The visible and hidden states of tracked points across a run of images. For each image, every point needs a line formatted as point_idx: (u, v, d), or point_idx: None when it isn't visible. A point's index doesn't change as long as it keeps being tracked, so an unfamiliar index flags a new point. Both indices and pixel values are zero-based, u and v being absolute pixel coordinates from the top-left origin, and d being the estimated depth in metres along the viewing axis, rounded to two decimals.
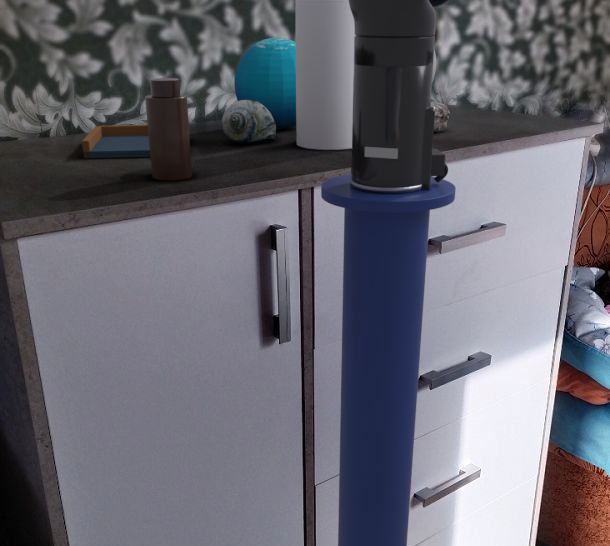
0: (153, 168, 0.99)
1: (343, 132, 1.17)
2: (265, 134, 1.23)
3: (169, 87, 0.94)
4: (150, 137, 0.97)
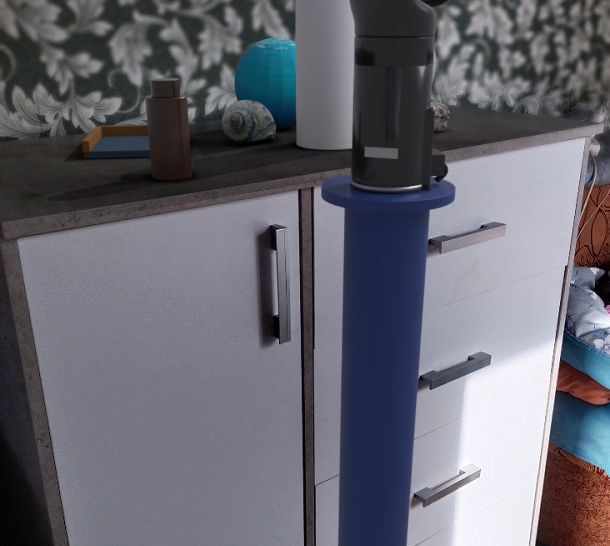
0: (153, 168, 0.99)
1: (343, 132, 1.17)
2: (265, 134, 1.23)
3: (169, 87, 0.94)
4: (150, 137, 0.97)
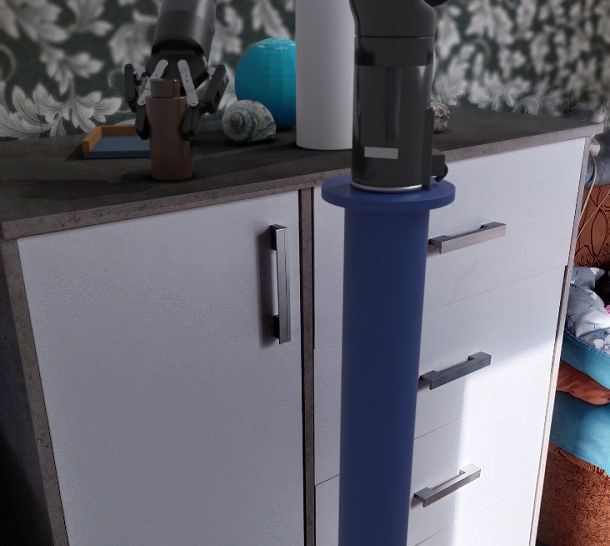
0: (153, 168, 0.99)
1: (343, 132, 1.17)
2: (265, 134, 1.23)
3: (169, 87, 0.94)
4: (150, 137, 0.97)
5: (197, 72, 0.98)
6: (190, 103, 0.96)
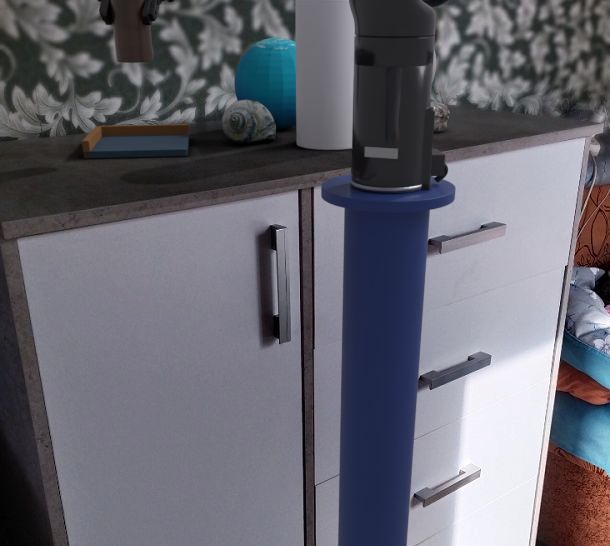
0: (117, 51, 1.08)
1: (343, 132, 1.17)
2: (265, 134, 1.23)
3: None
4: (113, 21, 1.06)
5: None
6: None
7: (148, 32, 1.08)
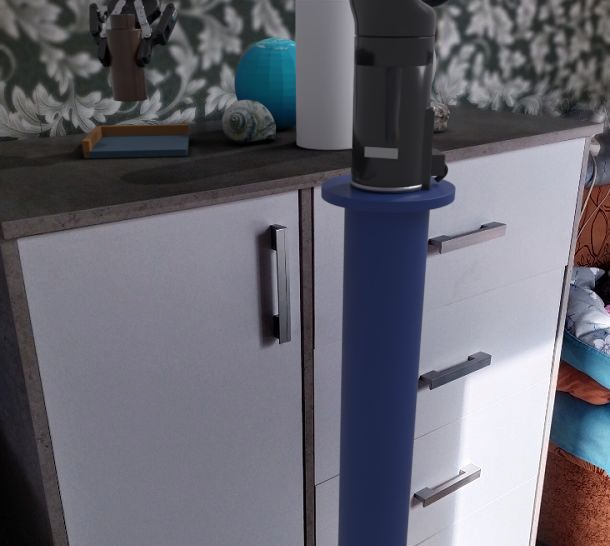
0: (114, 91, 1.17)
1: (343, 132, 1.17)
2: (265, 134, 1.23)
3: (126, 20, 1.12)
4: (110, 64, 1.15)
5: (150, 10, 1.16)
6: (144, 35, 1.15)
7: (142, 73, 1.17)
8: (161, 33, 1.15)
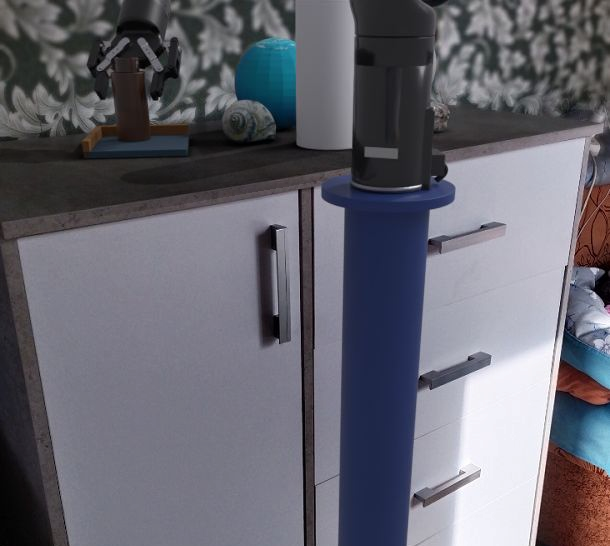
0: (118, 131, 1.20)
1: (343, 132, 1.17)
2: (265, 134, 1.23)
3: (130, 64, 1.15)
4: (115, 105, 1.18)
5: (153, 48, 1.19)
6: (156, 69, 1.17)
7: (146, 114, 1.19)
8: (174, 66, 1.17)
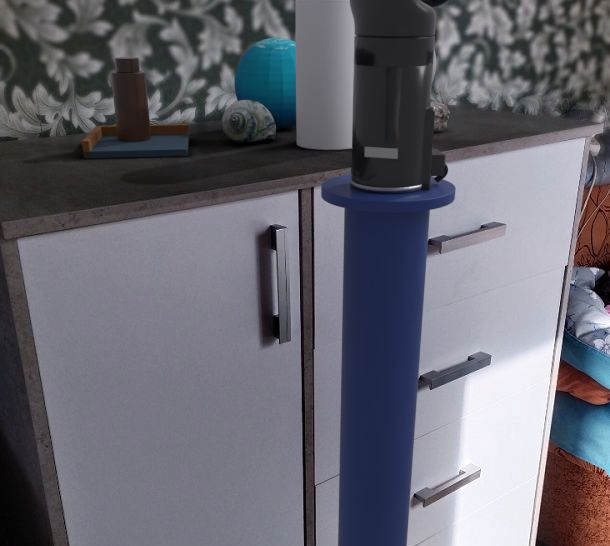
0: (118, 131, 1.20)
1: (343, 132, 1.17)
2: (265, 134, 1.23)
3: (130, 64, 1.15)
4: (115, 105, 1.18)
5: None
6: None
7: (146, 114, 1.19)
8: None
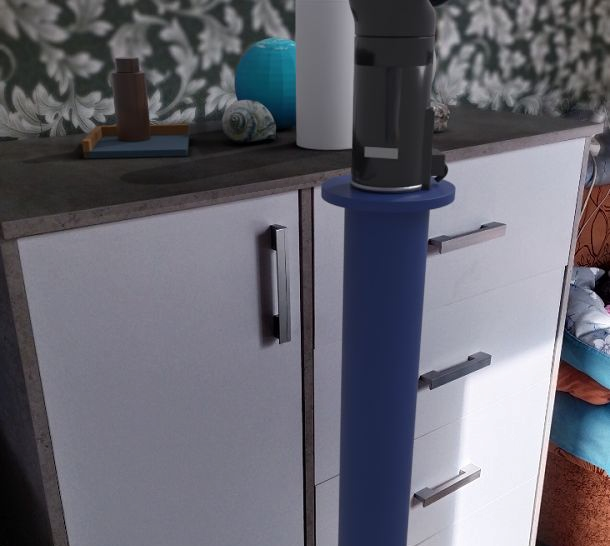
0: (118, 131, 1.20)
1: (343, 132, 1.17)
2: (265, 134, 1.23)
3: (130, 64, 1.15)
4: (115, 105, 1.18)
5: None
6: None
7: (146, 114, 1.19)
8: None
